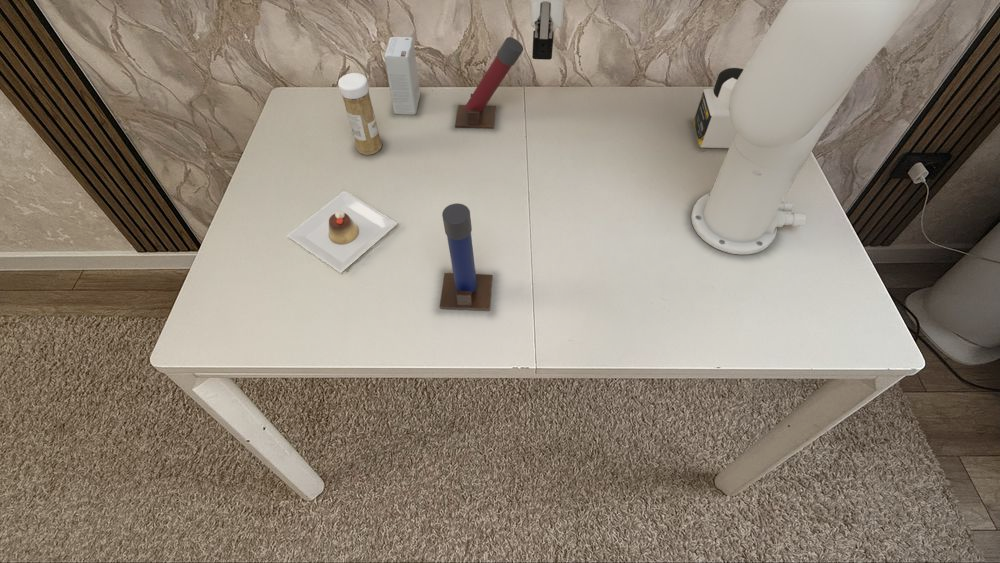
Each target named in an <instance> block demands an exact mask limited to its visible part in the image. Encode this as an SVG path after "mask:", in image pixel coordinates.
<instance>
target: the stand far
mask: <svg viewBox="0 0 1000 563" xmlns="http://www.w3.org/2000/svg"><path fill="white" fill-rule="evenodd" d="M472 94H473V93H470V98H471V96H472ZM465 106H466V104H458V106H457V111H456V116H455V123H454V128H458V129H492V130H493V129H495V120H496V109H497V105H486V106H485V108H484V109H483V111H482V112H481V114H480V110H468V112H467V110H466V108H465Z"/></svg>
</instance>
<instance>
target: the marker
mask: <svg viewBox="0 0 1000 563" xmlns="http://www.w3.org/2000/svg"><path fill="white" fill-rule="evenodd" d="M441 216H442V223H443V229H444V232H445V233H444V234H445V235H446V239H447V244H448V251H449V256H450V262H451V269H452V273H453V275H454V281H455V287H456V290H458V291H471V293H473V292H474V291H475V290H476V288H477V282H476V274H477V273H476V266H475V265H476V264H475V254H474V248H473V239H472V230H473V228H472V227H473V226H472V218H471V210H470V209H469V207H468V206H466V204H464V203H459V202H458V203H452V204H449V205H447V206H446V207H444V209H443V211H442V213H441Z"/></svg>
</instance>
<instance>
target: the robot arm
mask: <svg viewBox="0 0 1000 563" xmlns="http://www.w3.org/2000/svg"><path fill="white" fill-rule="evenodd" d="M565 2H566V0H529V12H530V13H529V14H530V15H529V16H530V25H531V27H532V28H534V30H533V33H532V56H531V58H532V59H533V60H543V61H544V60H546V61H547V60H549V61H550V60H552V59H553V50H554V32H555V31H554V28H555V29H556V28H557V29H559V30H560V29H561V28H563V26H564V14H565ZM920 2H921V0H787V1H786V2H785V3H784V5H783V7H782V8H781V9H780V11H779V13H778V14H777V16H776V18H775V19H774V20H773V21H772V24H771V25H770V27H769V28H768V30H767V31H766V33H765V35H764V36H763V38H762V40H761V41H760V42H759V45H758V46H757V48H756V49H755V51H754V52H753V54H752V55H751V57H750V59H749V61H748V62H747V64H746V65H745V67H744V68H743V69H744V70H743V71H742V73H741V75H740V76H739V78H738V80H737V81H736V83H735V85H734V87H733V90H732V93H731V96H730V103H729V112H730V118H731V121H732V124H733V126H734V128H735V130H736V133H735V136H734V138H733V140H732V143H731V145H730V148H728V150H727V151H726V152H727V153H726V154H725V157H724V160H723V162H722V165H721V167H720V169H719V172H718V174H717V176H716V179H715V182H714V184H713V186H712V189H711V191H710V192H708V193H706V194H703V195H702V196H701V197H700V198H698V200H696V202H695V204H694V205H693V207H692V211H691V216H690V219H691V224H692V227H693V229H694V231H695V232H696V233H697V235H698V237H700V238H701V239H702V240H703V241H704V242H705V243H707V244H708V245H709V246H711V247H713V248H714V249H717V250H719V251H721V252H724V253H728V254H731V255H740V256H741V255H743V256H744V255H753V254H757V253H760V252H762V251H764V250H766V249H767V248H768V247H769V246H770V245H771V244H772V243H773V241H774V239H775V238H776V236H777V233H778V228H783V227H784V225H786V226H791V227H793V226H795V227H804V226H805V224H806V222H807V215H806V213H805V212H802V213H801V212H792V211H793V209H794V204H793V202H785V201H784V200H785V198H786V197H787V194H788V193H789V191H790V189H791V187H792V186H793V184H794V182H795V180H796V179H797V177H798V175H799V173H800V172H801V170H802V168H803V166H804V165H805V163H806V162H807V160H808V159H809V157H810V155H811V153H812V152H813V150H814V148H815V146H816V145H817V143H818V141H819V140H820V138H821V136H822V134H823V133H824V132H825V130H826V128H827V126H828V125H829V123H830V122H831V120H832V118H833V117H834V116H835V114H836V112H837V110H838V109H839V107H840V106H841V104H842V103H843V102H844V100H845V98H846V96H847V95H848V93H849V92H850V90H851V89H852V86H854V83H855V81H856V79H857V78H858V77H859V76H860V75H861V73H863V71H864V70H865V69H866V68H867V67H868V65H869V64H870V63H871V62H872V61H873V59H875V57H876V56H877V55H878V54H879V52H880V51H881V50H882V49H883V48H884V47H885V46H886V44H887V43H888V42H889V41H890V39H891V38H892V37H893V36H894V35H895V34H896V33H897V32H898V30H899V29H900V28H901V27H902V26H903V25H904V23H905V22H906V21H907V20H908V18H909V17H910V16H911V15H912V14H913V12H914V11H915V9H916V8H917V6H918V5H919V4H920Z"/></svg>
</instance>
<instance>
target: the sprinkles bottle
mask: <svg viewBox="0 0 1000 563" xmlns="http://www.w3.org/2000/svg"><path fill="white" fill-rule="evenodd" d="M337 86H338V91H339V93H340V95H341V97H342V100H343V103H344V107H345V112H346V115H347V120H348V123H349V126H350V129H351V132H352V136H353V138H354V142H355V148H356V150H357V152H358V153H359V154H362V155H364V156H370V155H371V156H372V155H374V154H377V153H378V152H380V151H381V149H382V148H383V147H382V146H383V142H382V140H381V136H380V133H379V127H378V123H377V118H376V115H375V111H374V106H373V104H372V99H371V96H370V95H371V94H370V87H369V81H368V79H367V77H366V76H365V75H364V74H362V73H360V72H350V73H347V74H344V75H342V76H341V77H340V78H339V79H338V82H337Z"/></svg>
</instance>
